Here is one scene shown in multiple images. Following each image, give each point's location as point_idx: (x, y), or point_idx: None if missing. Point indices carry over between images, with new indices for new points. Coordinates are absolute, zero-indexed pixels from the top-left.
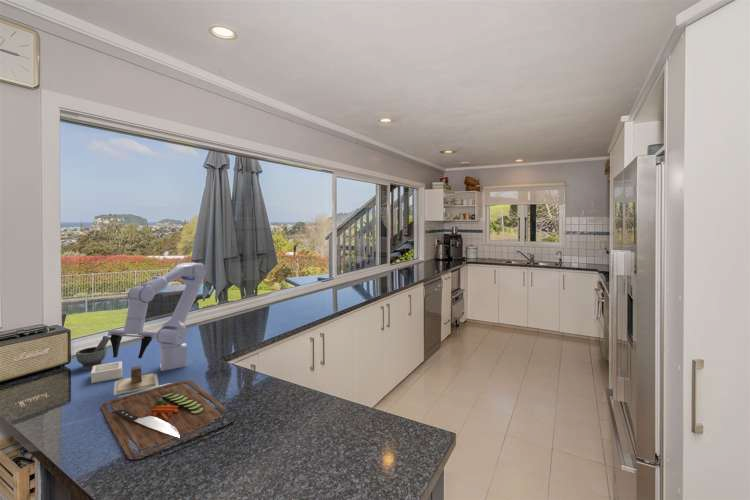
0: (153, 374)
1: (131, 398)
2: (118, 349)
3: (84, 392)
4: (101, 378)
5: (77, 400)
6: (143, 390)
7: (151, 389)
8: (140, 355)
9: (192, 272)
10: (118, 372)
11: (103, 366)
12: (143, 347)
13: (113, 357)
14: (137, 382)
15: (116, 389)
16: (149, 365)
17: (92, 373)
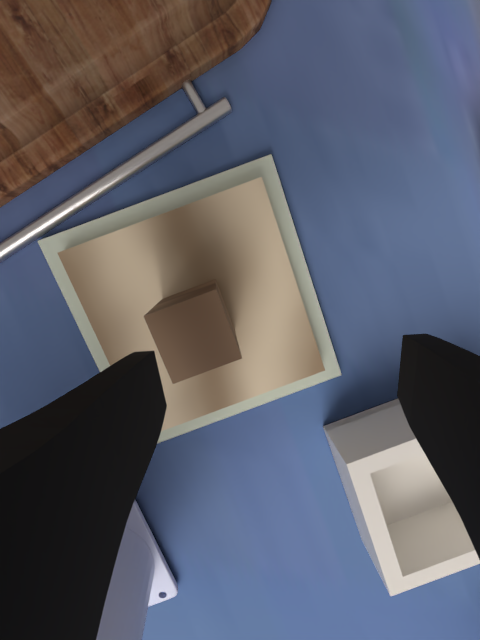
0: None
1: (121, 28)
2: (439, 473)
3: (453, 264)
4: None
5: (450, 149)
6: (106, 176)
7: (48, 162)
8: (121, 363)
9: None
10: (353, 442)
11: None
12: (31, 421)
13: (423, 334)
14: (184, 291)
15: (287, 244)
16: (241, 599)
17: None
